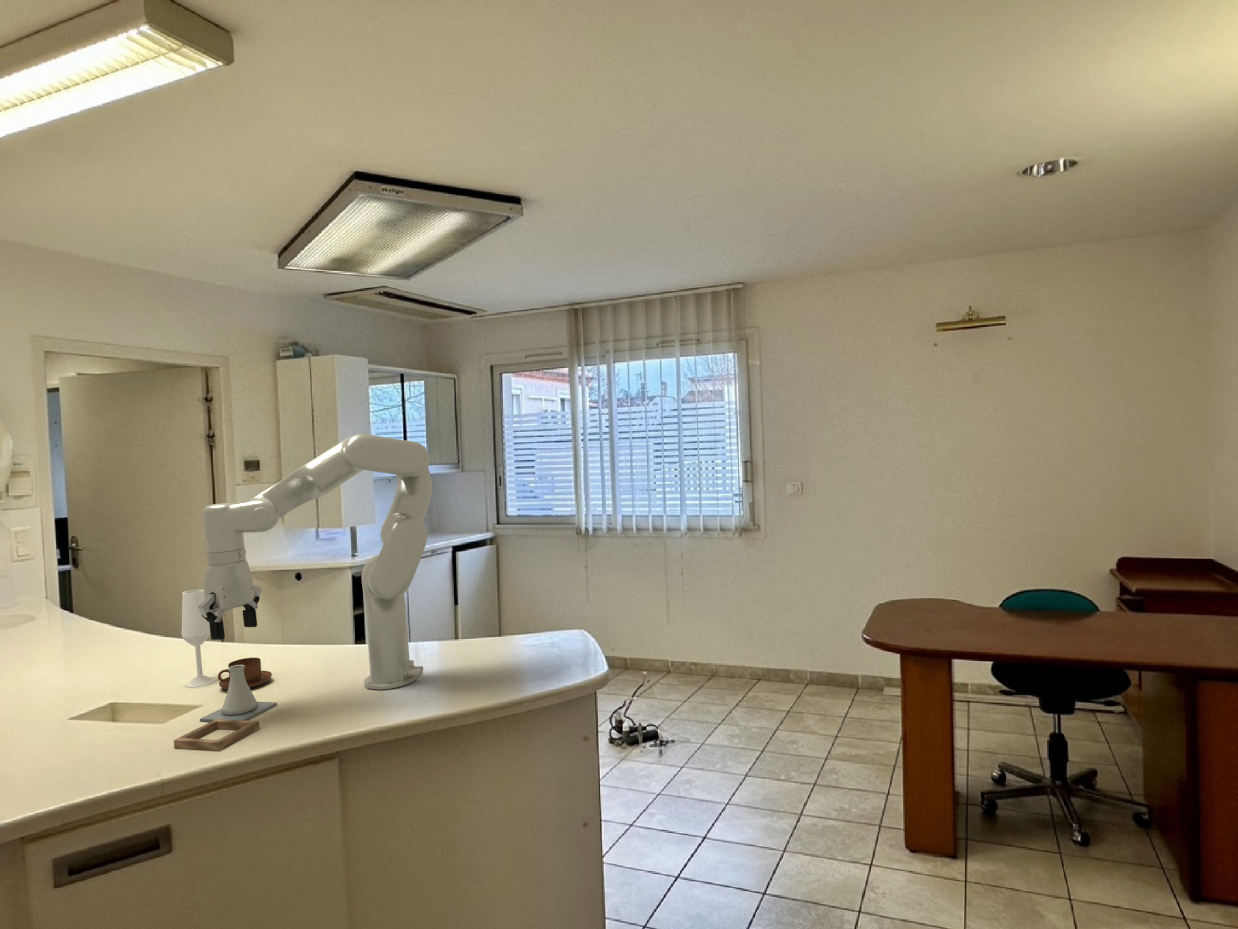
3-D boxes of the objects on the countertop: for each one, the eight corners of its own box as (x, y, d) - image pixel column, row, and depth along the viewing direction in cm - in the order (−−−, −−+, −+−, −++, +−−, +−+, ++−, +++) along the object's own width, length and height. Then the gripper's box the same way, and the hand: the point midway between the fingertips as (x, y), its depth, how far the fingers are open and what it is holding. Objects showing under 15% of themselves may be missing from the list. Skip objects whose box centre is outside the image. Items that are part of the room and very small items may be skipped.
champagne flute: (182, 684, 191) (174, 592, 190) (210, 676, 196) (202, 587, 195) (190, 689, 186) (182, 595, 185) (219, 681, 191) (211, 590, 190)
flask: (264, 704, 169) (261, 661, 169) (242, 716, 162) (239, 672, 162) (237, 704, 170) (233, 661, 170) (214, 716, 163) (210, 672, 163)
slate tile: (276, 705, 170) (276, 702, 170) (241, 723, 159) (241, 721, 159) (237, 703, 173) (237, 700, 173) (200, 721, 162) (199, 718, 162)
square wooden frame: (259, 728, 156) (259, 721, 156) (219, 750, 145) (218, 742, 145) (217, 726, 159) (216, 719, 159) (174, 748, 148) (173, 740, 148)
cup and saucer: (236, 697, 178) (234, 672, 178) (209, 690, 185) (207, 666, 184) (282, 681, 188) (280, 657, 188) (255, 675, 195) (253, 652, 195)
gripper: (241, 551, 174) (249, 622, 175) (181, 566, 157) (190, 644, 158) (268, 550, 172) (275, 622, 173) (210, 565, 155) (218, 644, 156)
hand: (234, 633), depth 166 cm, fingers open, 9 cm apart
